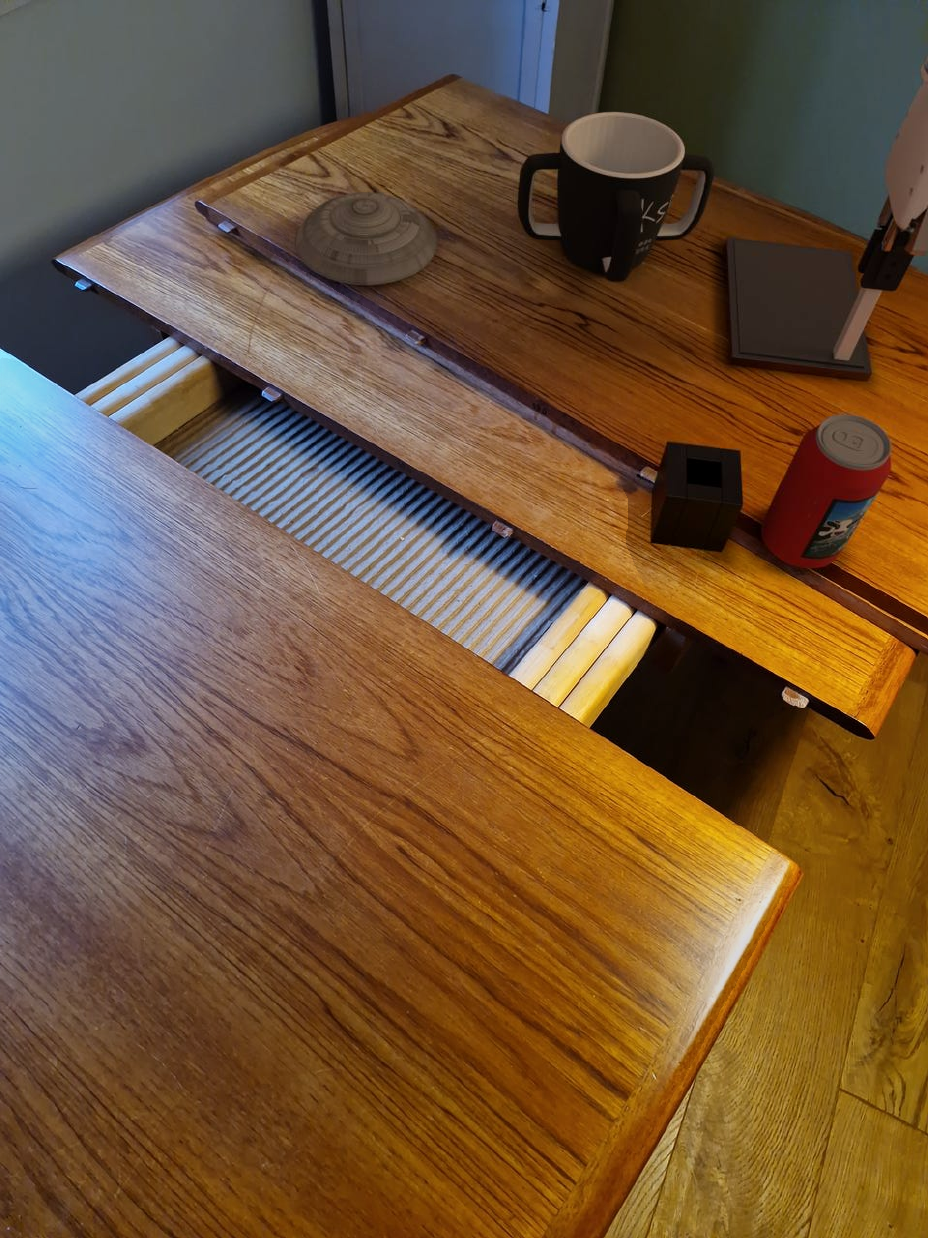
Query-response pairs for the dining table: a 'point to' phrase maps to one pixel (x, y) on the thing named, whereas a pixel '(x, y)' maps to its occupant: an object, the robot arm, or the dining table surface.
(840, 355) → the stylus
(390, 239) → the flying saucer
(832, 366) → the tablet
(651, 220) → the mug
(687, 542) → the pen holder
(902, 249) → the robot arm
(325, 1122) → the dining table surface
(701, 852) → the dining table surface
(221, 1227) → the dining table surface
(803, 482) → the beverage can
